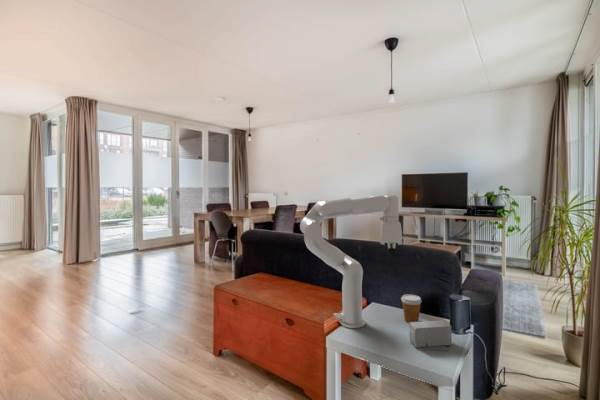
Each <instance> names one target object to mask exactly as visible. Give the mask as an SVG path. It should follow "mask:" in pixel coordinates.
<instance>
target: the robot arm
mask: <svg viewBox="0 0 600 400" xmlns="http://www.w3.org/2000/svg"><path fill="white" fill-rule="evenodd" d="M381 212H382V217H379V221H382V222H381V226H380V242H379V244H380V245H383V246H386V247H387V253H388V255H389V257H394V255H395V250H396V247H397V246H399V245H403V232H402V225H401V224H402V223H401V222H400V221H399V219H400V217H399V214H400V213H399V197H398V195H396V194H395V195H394V194H387V195H383V194H382V195H381V194H380V195H375V194H373V195H370V196H368V197H345V198H339V199H331V200H330V199H329V200H318V201H317V202H316V203H315V204H314V205H313V206H312V208H311V209H310V210H309V211H308V213H307V214H306V215H305V216H304V217H303V218H302V219H301V221H300V224H299V229H300V231H301V233H302V234H303V235H304V236H303V241H304V243H305V245H306V248H307V249H308V250H309V251H310V252H311V253H312V254H313V255H315V256H316V257H318V258H319V259H320V260H322V261H323V262H324V263H325V264H326V265H328V266H329V267H331V268H333V269H335V270H336V271H337V272H339V273H341V274H342V285H341V292H342V293H341V295H342V299H341V300H342V301H341V303H342V311H341V312H340V313H338V312H337V313H336V312H334V313H333V318H335V319H336V320H339V323H340V325H341V326H343V327H345V328H348V329H360V328H363V327H364V326H366V319H365V318H364V317H363V292H362V291H363V289H362V285H363V275H364V270H363V266H362V264H361V263H360V262H359V261H357V260H356V259H354V258H352V257H351V256H349V255H348V254H346V253H345V252H343V251H342V250H341V249H339V248H338V247H337V246H335V245H334V244H331V243H330V242H328V241H327V240H325V238H323V236H322V227H321V223H322V222H323V220H324V219H334V218H340V217H348V216H357V215H364V214H365V215H366V214H373V213H381ZM391 243H392V245H391Z"/></svg>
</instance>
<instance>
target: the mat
mask: <svg viewBox="0 0 600 400" xmlns="http://www.w3.org/2000/svg"><path fill="white" fill-rule="evenodd" d="M416 349H417V350H422V351H438V352H442V351H443V352H449V348H448V347H447V345H444V346H429V347H416Z"/></svg>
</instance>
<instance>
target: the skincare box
mask: <svg viewBox="0 0 600 400" xmlns="http://www.w3.org/2000/svg"><path fill="white" fill-rule="evenodd" d="M409 341H410V343H412V345H413V346H414V347H415V348H417V347H429V346H444V345H446V346H452V345H453V343H452V325H450V324H449V323H448V322H446V321H445V320H443V319H441V320H428V321H426V320H425V321H418V322H410V323H409Z"/></svg>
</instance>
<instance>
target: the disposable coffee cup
mask: <svg viewBox="0 0 600 400" xmlns="http://www.w3.org/2000/svg"><path fill="white" fill-rule="evenodd" d="M400 300H401V303H402V309H403V316H404V321H405V323H408V324H410V322H419V319H420V311H421V303H422V301H423V300H422V299H421V296H419V295H417V294H410V293H409V294H403V295H402V296H401V298H400Z"/></svg>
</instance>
